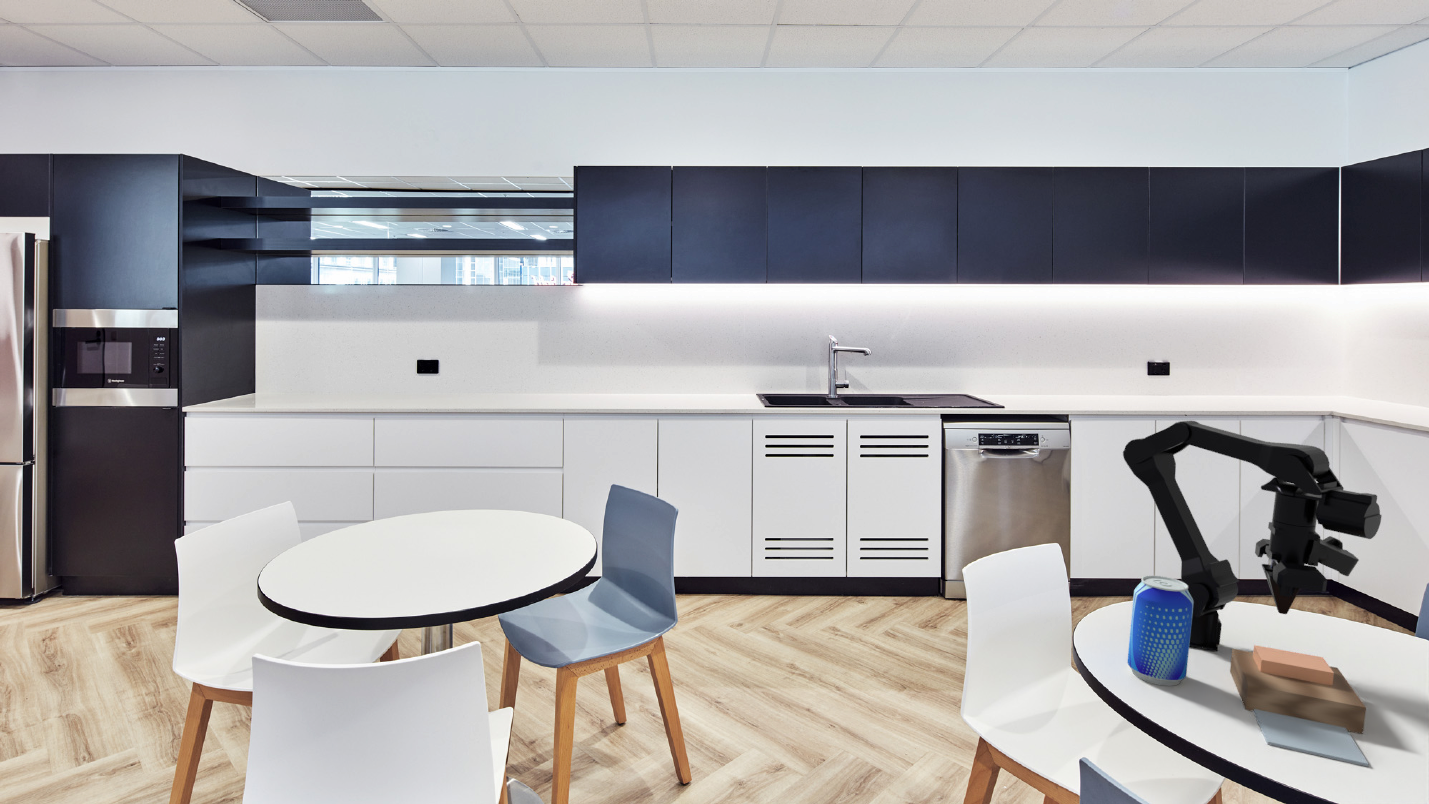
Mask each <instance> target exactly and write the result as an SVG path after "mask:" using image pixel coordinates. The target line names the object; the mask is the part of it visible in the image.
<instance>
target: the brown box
mask: <svg viewBox="0 0 1429 804" xmlns="http://www.w3.org/2000/svg"><path fill="white" fill-rule="evenodd" d="M1329 667H1330V668H1331V670H1332V671H1333V672H1334V676H1333V684H1332V685H1327V684H1322V683H1316V682H1311V681H1306V680H1300V679H1295V678H1290V677H1285V676H1279V675H1274V674H1269V673H1263V672H1260V670H1259V668H1258V666H1257V664H1256V662H1255V660H1254V658H1253V651H1252V652H1251V651H1246V650H1242V649H1241V650H1240V649H1235V648H1232V649H1231V660H1230V668H1229V672H1230V675H1231V677H1232V680H1233V682H1234V684H1235V687H1236V690H1237V692H1238V695H1239V698H1240V699H1241V702H1242V705H1243V707H1244V710H1247V711H1249V712H1250V711H1251V712H1254V709H1257V710H1262V711H1267V712H1272V713H1277V714H1282V715H1286V716H1291V717H1296V718H1301V719H1306V720H1311V721H1315V722H1320V723H1325V724H1330V725H1335V726H1339V727H1344V728H1346V729H1347V731H1348V732H1352V733H1356V734H1361V735H1364V727H1365V719H1366V712H1367V707H1366V705H1365V703H1364V702H1363V701H1362V699H1361V698H1360V696H1359V695H1358V694H1357V693H1356V691H1355V690H1354V688H1353V687H1352V685H1351V684H1350V683H1349V682H1348V680H1347V679H1346V678H1345V676H1344V675H1343V674H1342V672H1341V671H1340V669H1339V668H1338V667H1335V666H1330V665H1329Z"/></svg>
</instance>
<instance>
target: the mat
mask: <svg viewBox="0 0 1429 804" xmlns="http://www.w3.org/2000/svg"><path fill="white" fill-rule="evenodd" d="M1253 713H1254V716H1255V718H1256V721H1257V723H1258V725H1259V728H1260V730H1261V732H1262V733H1261V734H1263V737H1264V739H1265V742H1266V744H1267V745H1269V746H1275V747H1279V748H1282V749H1287V750H1292V751H1296V752H1300V753H1305V754H1310V755H1315V756H1319V757H1324V758H1327V759H1332V760H1336V761H1337V760H1338V761H1341V762H1345V763H1350V764H1354V765H1359V766H1363V767H1369V762H1368V761H1367V760H1366V757H1365V756H1364V754H1363V753H1362V751H1361V750H1360V748H1359V747H1358V745H1357V744H1356V742H1355V741H1354V739H1353V737H1352V736H1351V733H1349V732H1350V731H1347V729H1346V728H1344V727H1339V726H1335V725H1330V724H1325V723H1320V722H1315V721H1311V720H1306V719H1301V718H1296V717H1291V716H1286V715H1282V714H1277V713H1272V712H1267V711H1262V710H1257V709H1254V711H1253Z"/></svg>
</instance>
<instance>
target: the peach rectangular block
mask: <svg viewBox="0 0 1429 804" xmlns="http://www.w3.org/2000/svg"><path fill="white" fill-rule="evenodd" d="M1252 652H1253V658H1254V660H1255V662H1256V664H1257V666H1258V668H1259V670H1260V672H1263V673H1269V674H1274V675H1279V676H1285V677H1290V678H1295V679H1300V680H1306V681H1311V682H1316V683H1322V684H1327V685H1332V684H1333V676H1334V672H1333V671H1332V670H1331V668H1330V667H1329V666H1330V665H1329V663H1328V662H1327V661H1326V659H1325V658H1324V656H1323V657H1322V656H1318V655H1311V654H1307V653H1300V652H1296V651H1295V652H1294V651H1290V650H1285V649H1284V650H1283V649H1280V648H1273V647H1269V646H1268V647H1266V646H1262V645H1256V644H1254V645H1253V651H1252Z"/></svg>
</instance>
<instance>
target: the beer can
mask: <svg viewBox="0 0 1429 804" xmlns="http://www.w3.org/2000/svg"><path fill="white" fill-rule="evenodd" d="M1140 581H1141V582H1140V583H1139V584H1138V585H1137V586H1136V587H1135V589H1134V590H1133V598H1132V606H1131V607H1132V609H1131V620H1130V630H1129V641H1128V653H1127V664H1128V666H1129V668H1130V669H1131V672H1132V674H1133V675H1134V676H1135V677H1137V678H1138V679H1140V680H1141V681H1144V682H1147V683H1150V684H1153V685H1156V686H1157V685H1158V686H1163V687H1164V686H1165V687H1167V686H1168V687H1170V686H1171V687H1172V686H1177V685H1178V684H1180V683H1181V681H1183V680H1184V679H1185V678H1186V677H1187V673H1188V671H1187V670H1188V661H1189V651H1190V646H1189V643H1190V634H1191V624H1192V614H1193V604H1194V601H1193V599H1192V597H1191V595H1190V593H1189V591H1188V585H1187V584H1185V583H1184V582H1182V580H1179V579H1176V578H1172V577H1167V576H1163V575H1162V576H1161V575H1145V576H1142V577H1141V580H1140Z"/></svg>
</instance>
